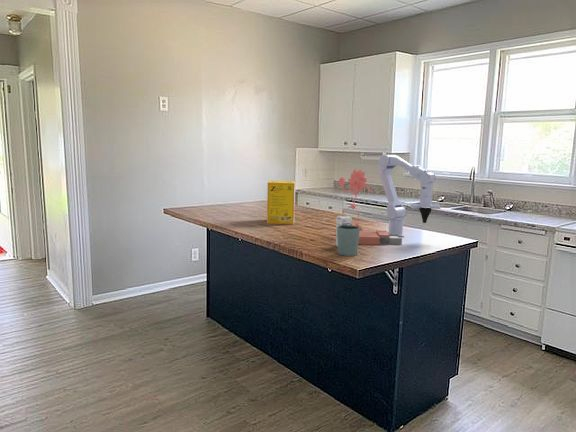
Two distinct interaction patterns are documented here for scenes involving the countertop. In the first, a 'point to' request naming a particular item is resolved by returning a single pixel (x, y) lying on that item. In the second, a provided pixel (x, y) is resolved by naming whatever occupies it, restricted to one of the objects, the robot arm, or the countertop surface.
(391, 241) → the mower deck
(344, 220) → the syrup box
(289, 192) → the packaging box
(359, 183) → the pink flower bunch
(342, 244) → the green tapered cup
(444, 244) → the countertop surface
